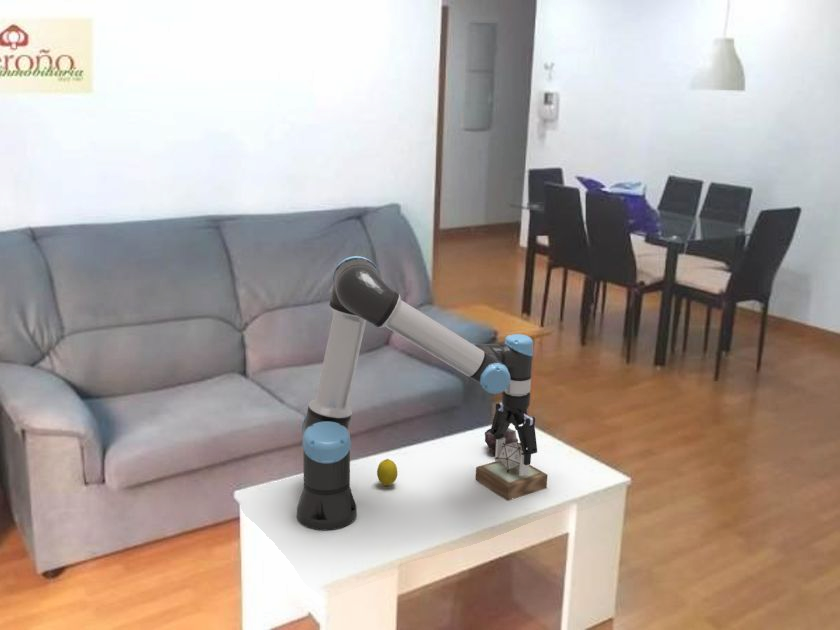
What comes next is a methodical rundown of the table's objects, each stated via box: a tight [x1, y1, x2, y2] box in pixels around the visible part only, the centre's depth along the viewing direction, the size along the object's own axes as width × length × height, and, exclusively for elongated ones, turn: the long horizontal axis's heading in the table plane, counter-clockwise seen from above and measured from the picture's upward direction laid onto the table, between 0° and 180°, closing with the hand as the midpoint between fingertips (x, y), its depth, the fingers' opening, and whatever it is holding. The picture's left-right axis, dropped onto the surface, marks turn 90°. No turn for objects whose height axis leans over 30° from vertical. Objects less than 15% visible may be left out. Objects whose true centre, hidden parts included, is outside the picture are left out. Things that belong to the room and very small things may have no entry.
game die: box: [494, 438, 523, 473], centre depth 238 cm, size 9×8×10 cm
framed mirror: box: [475, 460, 548, 501], centre depth 240 cm, size 14×14×4 cm
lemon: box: [376, 458, 398, 487], centre depth 236 cm, size 6×6×8 cm
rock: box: [484, 427, 521, 455], centre depth 258 cm, size 12×9×10 cm
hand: (511, 467), depth 239 cm, fingers open, 10 cm apart
